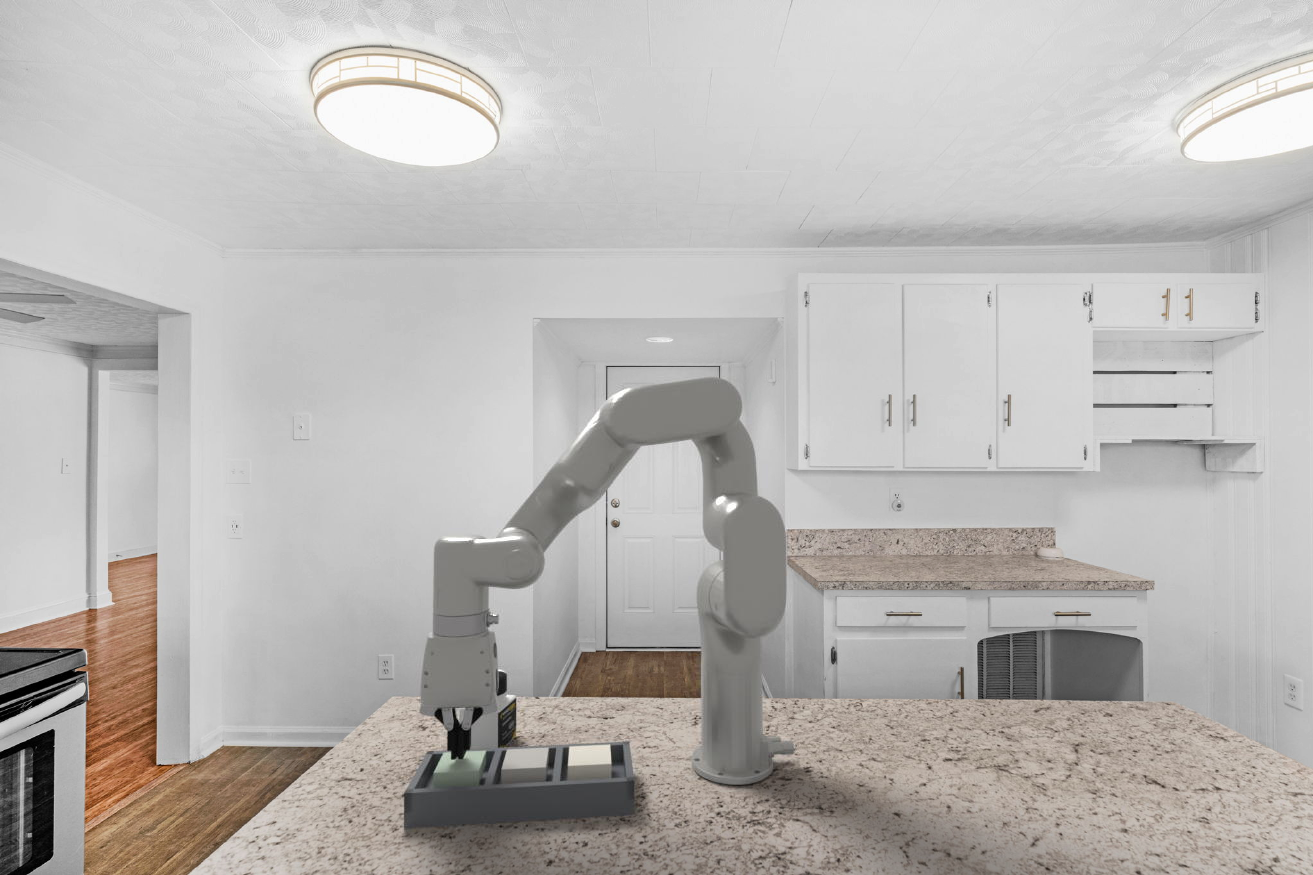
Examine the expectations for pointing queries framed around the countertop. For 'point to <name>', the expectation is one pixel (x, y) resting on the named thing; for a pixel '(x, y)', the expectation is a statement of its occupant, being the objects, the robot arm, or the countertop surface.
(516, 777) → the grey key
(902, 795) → the countertop surface
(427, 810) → the grey compartment tray
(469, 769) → the sage key
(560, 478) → the robot arm
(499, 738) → the medicine bottle
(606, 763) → the cream key
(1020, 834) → the countertop surface
